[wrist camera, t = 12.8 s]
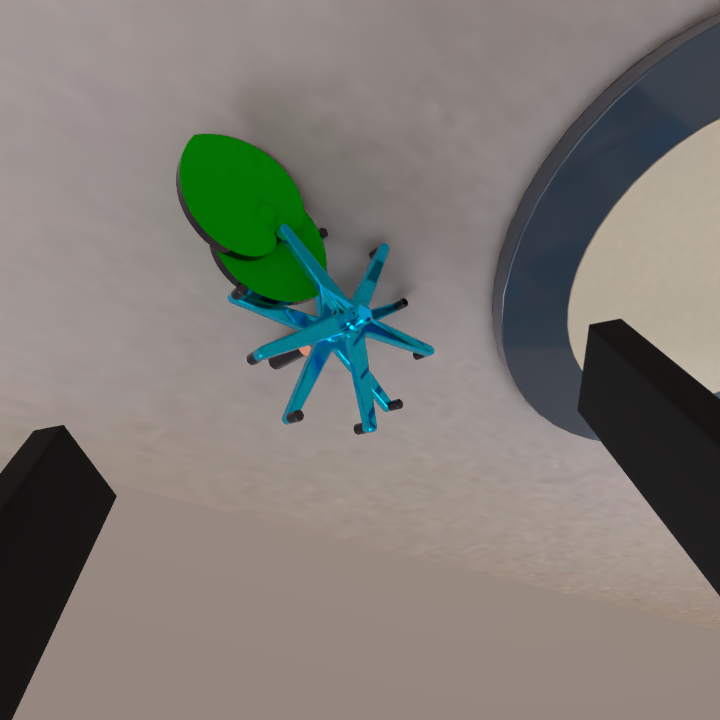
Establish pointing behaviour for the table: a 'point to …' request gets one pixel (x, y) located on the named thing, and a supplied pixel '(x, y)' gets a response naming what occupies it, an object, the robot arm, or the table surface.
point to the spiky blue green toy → (285, 269)
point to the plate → (621, 231)
